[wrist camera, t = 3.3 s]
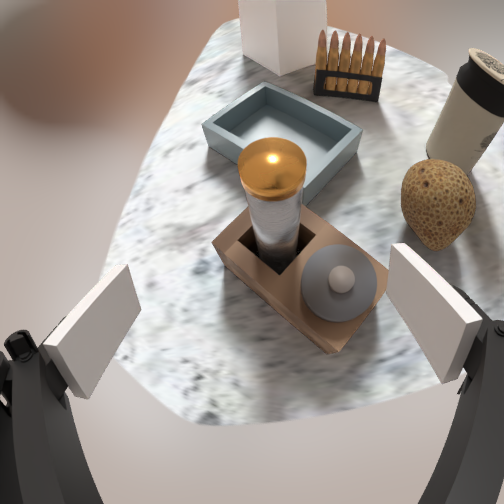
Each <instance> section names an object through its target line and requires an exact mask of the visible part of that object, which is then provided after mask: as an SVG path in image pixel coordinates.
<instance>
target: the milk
mask: <svg viewBox="0 0 504 504" xmlns="http://www.w3.org/2000/svg"><path fill="white" fill-rule="evenodd" d="M238 4H239V15H240V26H241V38H242V49H243V55H245V56H247V57H248V58H250V59H252V60H254V61H255V62H257V63H259V64H260V65H262V66H264V67H265V68H267V69H269V70H270V71H272V72H274V73H275V74H277V75H278V76H282V75H285V74H288V73H291V72H293V71H296V70H299V69H302V68H305V67H308V66H311V65H314V64H316V53H317V49H318V40H319V35H320V32H321V30H324V32H325V35H326V46H327V7H326V0H238Z"/></svg>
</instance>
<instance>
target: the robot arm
mask: <svg viewBox="0 0 504 504" xmlns="http://www.w3.org/2000/svg"><path fill="white" fill-rule="evenodd" d="M386 294H387V296H388V297H389V299H390V300H391V302H392V303H393V305H394V306H395V308H396V309H397V311H398V312H399V314H400V315H401V317H402V318H403V320H404V321H405V323H406V325H407V326H408V328H409V329H410V331H411V333H412V334H413V336H414V337H415V339H416V341H417V342H418V344H419V346H420V347H421V349H422V351H423V352H424V354H425V356H426V357H427V359H428V361H429V362H430V364H431V366H432V368H433V369H434V371H435V373H436V375H437V376H438V378H439V380H440V382H441V384H444V383H447V382H450V381H453V380H456V379H458V377H459V375H460V373H461V371H462V368H463V367H464V369H465V371H466V372H467V376H466V378H465V380H464V382H463V384H462V385H461V388H460V389H459V391H458V393H457V394H460V392H461V395H460V399H459V403H458V406H457V409H456V413H455V417H454V419H453V422H452V426H451V429H450V431H449V434H448V437H447V440H446V443H445V446H444V448H443V450H442V453H441V456H440V458H439V460H438V463H437V465H436V467H435V470H434V472H433V474H432V477H431V479H430V481H429V483H428V485H427V487H426V489H425V491H424V493H423V495H422V497H421V499H420V500H419V502H418V504H496V502H497V499H498V496H499V492H500V489H501V486H502V482H503V479H504V321H501V320H495V321H492V320H491V319H490V318H489V317H488V316H487V315H486V314H485V313H484V311H483V310H482V309H481V308H480V307H479V306H478V305H477V304H475V302H474V301H473V300H472V299H470V297H469V296H468V295H467V294H466V293H465V292H464V291H463V290H461V289H459V288H457V287H455V286H451V285H450V284H449V283H448V282H446V281H445V280H444V279H443V278H442V277H441V276H440V275H439V274H438V273H437V272H436V271H435V270H434V269H433V268H432V267H431V266H430V265H429V264H427V263H426V262H425V261H424V260H423V259H422V258H421V257H420V256H419V255H418V254H416V253H415V252H414V251H413V250H412V249H411V248H410V247H409V246H407V245H406V244H405V243H398V244H391V253H390V263H389V272H388V280H387V288H386ZM140 311H141V307H140V304H139V300H138V297H137V294H136V291H135V288H134V284H133V281H132V278H131V274H130V271H129V267H128V264H124V265H115V266H114V267H113V268H112V269H111V270H110V271H109V272H108V273H107V274H106V275H105V276H104V277H103V278H102V279H101V280H100V281H99V282H98V283H97V284H96V285H95V286H94V287H93V289H92V290H91V291H90V292H89V293H88V294H87V295H86V296H85V297H84V298H83V299H82V300H81V301H80V302H79V303H78V305H76V307H75V308H74V309H73V310H72V311H71V312H70V313H69V314H68V315H67V316H66V317H64V318H63V319H62V321H60V323H59V324H58V326H56V327H55V328H54V329H53V331H52V332H51V333H50V334H49V335H48V336H47V338H46V339H45V340H44V341H43V342H42V343H41V345H40V346H39V347H38V348H37V346H36V344H35V342H34V341H33V339H32V337H31V335H30V333H29V331H27V330H20V331H17V332H15V333H13V334H11V335H10V336H9V337H8V338H7V339H6V340H5V343H4V346H5V348H6V349H7V351H8V353H9V354H10V356H11V358H12V360H9V361H8V360H7V358H6V357H5V355H4V353H3V352H1V351H0V394H2V396H3V397H4V398H5V399H6V401H7V405H6V406H5V405H4V404H3V403H2V402H1V400H0V504H104V503H103V501H102V499H101V497H100V495H99V493H98V490H97V488H96V485H95V483H94V480H93V478H92V475H91V473H90V470H89V467H88V465H87V462H86V459H85V456H84V453H83V450H82V447H81V444H80V441H79V437H78V434H77V430H76V427H75V423H74V419H73V415H72V412H71V407H70V403H69V398H68V396H67V395H66V393H65V390H66V389H67V387H69V388H70V390H71V391H72V393H73V394H74V396H76V397H80V398H84V399H89V398H90V396H91V395H92V393H93V391H94V389H95V387H96V385H97V384H98V382H99V380H100V378H101V377H102V374H103V373H104V371H105V369H106V368H107V366H108V364H109V363H110V360H111V359H112V357H113V356H114V354H115V352H116V351H117V349H118V347H119V345H120V344H121V342H122V340H123V339H124V337H125V336H126V334H127V332H128V331H129V329H130V327H131V326H132V324H133V322H134V321H135V319H136V318H137V316H138V314H139V313H140Z"/></svg>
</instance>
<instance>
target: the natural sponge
mask: <svg viewBox="0 0 504 504" xmlns="http://www.w3.org/2000/svg"><path fill="white" fill-rule="evenodd" d="M401 208H402V212H403V216H404V218H405V220H406V222H407V223H408V224H409V226H410V227H411V228H412V230H413V231H414V232H415V233H416V234H417V236H418V237H419V239H420V240H421V241H422V243H423V244H424V245H425V246H426V247H427V248H429V249H430V250H433V251H440V250H442V249H444V248H446V247H447V246H449V245H450V244H451V243H452V242H453V241H454V240H455V239H456V238H457V237H458V236H459V235H460V234H461V233H462V232H463V231H464V230H465V229H466V228H467V227H468V226H469V224H470V223H471V221H472V219H473V216H474V213H475V209H476V200H475V193H474V189H473V186H472V184H471V182H470V180H469V179H468V177H467V176H466V174H465V173H464V172H463V171H462V170H461V169H460V168H459V167H458V166H456V165H454V164H452V163H450V162H447V161H444V160H438V159H427V160H423V161H421V162H418V163H416V164H414V165H413V166H412V167H411V168H410V169H409V170H408V171H407V173H406V175H405V177H404V180H403V182H402V188H401Z"/></svg>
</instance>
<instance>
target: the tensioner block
mask: <svg viewBox="0 0 504 504" xmlns="http://www.w3.org/2000/svg"><path fill="white" fill-rule="evenodd" d="M212 244H213V246H214V248H215V249H216V251H217V253H218V255H219V257H220V258H221V260H222V262H223V264H224V265H225V266H226V267H227V268H228V269H229V270H230V271H231V272H233V273H234V274H235V275H236V276H237V277H238V278H239V279H240V280H242V281H243V282H244V283H245V284H246V285H247V286H248V287H249V288H251V289H252V290H253V291H254V292H255V293H256V294H257V295H259V296H260V297H261V298H262V299H263V300H264V301H265V302H267V303H268V304H269V305H270V306H271V307H272V308H273V309H275V310H276V311H277V312H278V313H279V314H280V315H282V316H283V317H284V318H285V319H286V320H287V321H288V322H290V323H291V324H292V325H293V326H294V327H295V328H297V329H298V330H299V331H300V332H301V333H303V334H304V335H305V336H306V337H307V338H308V339H310V340H311V341H312V342H313V343H314V344H315V345H317V346H318V347H319V348H320V349H321V350H323V351H324V352H325V353H326V354H331V353H336V352H339V351H340V350H341V349H342V348H343V347H344V345H345V344H346V343H347V342H348V340H349V339H350V338H351V337H352V335H353V334H354V333H355V332H356V330H357V329H358V328H359V326H360V325H361V324H362V322H363V321H364V320H365V318H366V317H367V316H368V314H369V313H370V312H371V310H372V309H373V308H374V306H375V305H376V303H377V302H378V301H379V299H380V298H381V296H382V295H383V294H384V292H385V291H386V288H387V280H388V272H389V270H388V269H387V268H385V267H384V266H383V265H382V264H380V263H379V262H378V261H377V260H375V259H374V258H373V257H372V256H370V255H369V254H368V253H367V252H365V251H364V250H363V249H362V248H360V247H359V246H358V245H357V244H355V243H354V242H353V241H351V240H350V239H349V238H347V237H346V236H345V235H344V234H342V233H341V232H340V231H338V230H337V229H336V228H334V227H333V226H332V225H330V224H329V223H328V222H326V221H325V220H324V219H322V218H321V217H319V216H318V215H317V214H315V213H314V212H313V211H311V210H310V209H308V208H307V207H306V206H304V205H303V204H301V215H300V225H299V234H298V244H297V249H298V250H299V251H300V252H301V253H300V254H299V255H298V256H297V257H296V258H295V259H294V260H293V262H292V263H291V264H290V265H289V266H288V267H287V268H286V269H285V270H284V271H283V273H282V274H281V275H280V276H279V275H278V274H277V273H276V272H275V271H273V270H272V269H271V268H270V267H269V266H267V265H266V264H265V263H264V262H263V261H261V260H260V259H259V258H258V257H257V256H255V254H256V253H257V252H258V248H257V244H256V239H255V234H254V230H253V225H252V221H251V216H250V211H249V207H247V208H246V209H245V210H244V211H243V212H242V213H241V214H240V215H239V216H238V217H237V218H236V219H235V220H234V221H233V222H232V223H230V224H229V225H228V226H227V227H226V228H225V229H224V230H223V231H222V232H221V233H220V234H219V235H218V236H217V237H216V238H215V239H214V240H213V241H212Z"/></svg>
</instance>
